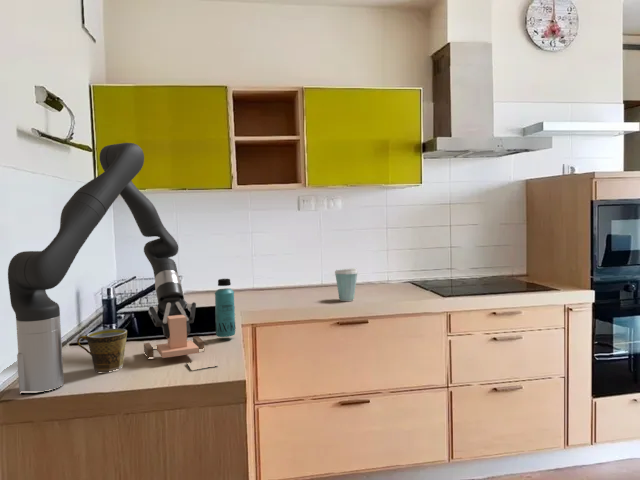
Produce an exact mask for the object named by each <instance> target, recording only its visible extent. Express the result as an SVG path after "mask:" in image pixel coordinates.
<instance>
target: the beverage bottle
mask: <svg viewBox="0 0 640 480" xmlns="http://www.w3.org/2000/svg"><path fill="white" fill-rule="evenodd" d="M231 284H232V283H231V279H230V278H219V279H218V280H217V286H218V287H226V288H219V289H217V290H215V292H214V301H215V303H214V304H215V310H214V315H215V316H214V317H215V327H214V328H215V335H216V336H217V338H218V337H219V338H227V337H228V338H229V337H232V336H233V337H234V336H235V335H236V329H237V328H236V317H235V316H236V313H235V310H236V309H235V308H236V307H235V291H234V290H233V289H232V288H227V287H228V286H231Z"/></svg>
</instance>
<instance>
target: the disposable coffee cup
mask: <svg viewBox="0 0 640 480" xmlns="http://www.w3.org/2000/svg"><path fill="white" fill-rule="evenodd" d="M358 273H359V271H358V269H357V268H356V267H353V268H352V267H350V268H342V269H341V268H340V269H336V270H335V271H334V275H335V280H336V286H337V293H338V299H339V301H340V302H353V301H354V299H355V294H356V288H357V287H356V285H357V280H358V279H357V278H358Z"/></svg>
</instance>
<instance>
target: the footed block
mask: <svg viewBox="0 0 640 480" xmlns="http://www.w3.org/2000/svg"><path fill="white" fill-rule="evenodd" d="M167 324H168V326H169V332H170V337H169V338H167V337H166V339H167V341H166V343H160V344H156V345H155V346H157V349H156V351H157V353H158V354H159V355H160V357H161V359H165V358H173V357H179V356H180V357H181V356H187V355H193V354H199V353H200V352H199V347H198V346H197V345H196V344H194V343H193V340H188V339H187V338H188V336H187V326H186V317H185V316H184V315H174V316H167Z"/></svg>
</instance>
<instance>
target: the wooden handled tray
mask: <svg viewBox="0 0 640 480" xmlns="http://www.w3.org/2000/svg"><path fill="white" fill-rule="evenodd" d="M192 342H193V343H194V344H196V345H197V346H198V347H199V349H203V348H204V349H205V341H204V340H203V339H202V337H200V336H197V335H195V336H192ZM144 352H145V354H146V355H147V357H148V358H149V357H154V358H155V353H154V350H153V347H152V345H151V343H150V342H145V343H143V353H144ZM145 354H144V355H145ZM147 357H146V358H147Z"/></svg>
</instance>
